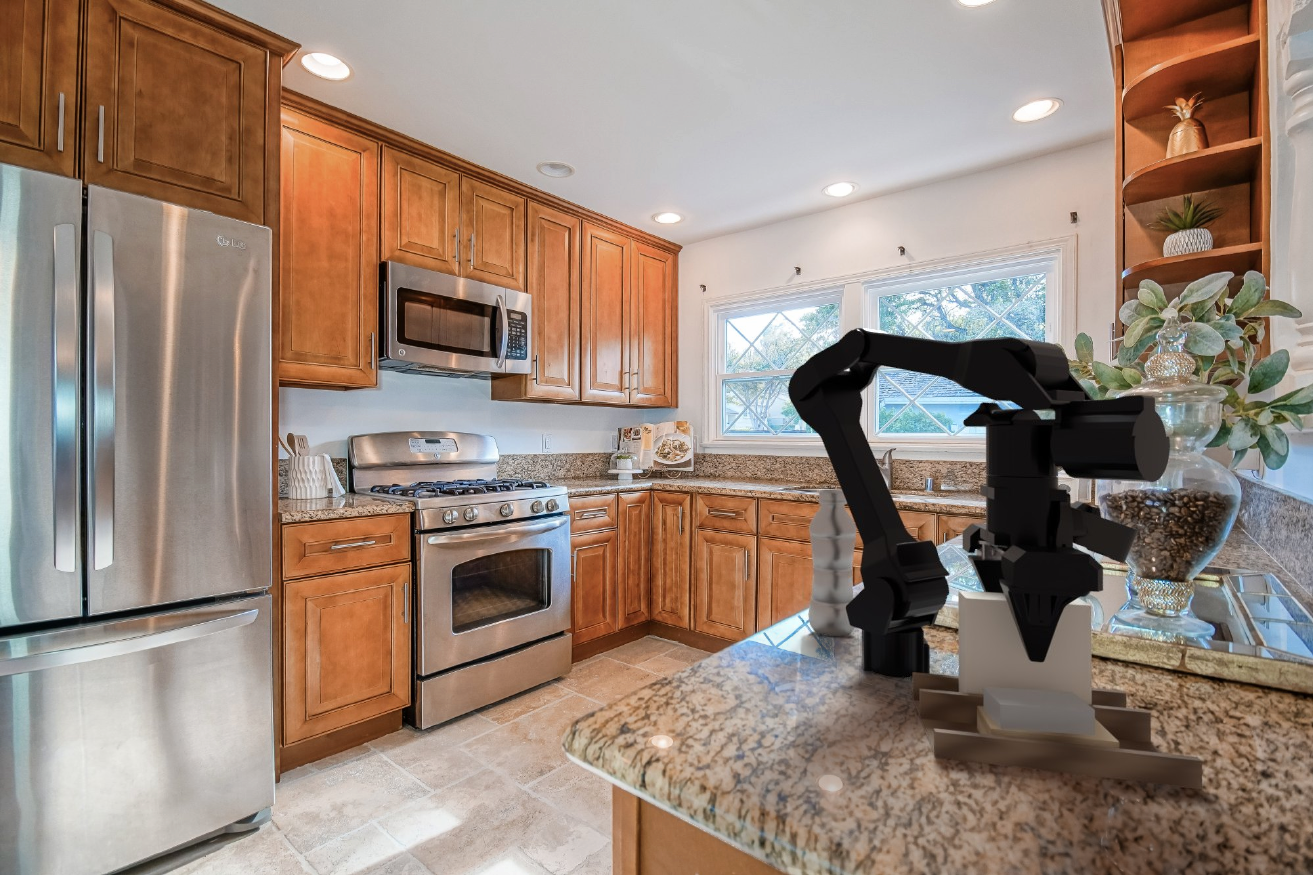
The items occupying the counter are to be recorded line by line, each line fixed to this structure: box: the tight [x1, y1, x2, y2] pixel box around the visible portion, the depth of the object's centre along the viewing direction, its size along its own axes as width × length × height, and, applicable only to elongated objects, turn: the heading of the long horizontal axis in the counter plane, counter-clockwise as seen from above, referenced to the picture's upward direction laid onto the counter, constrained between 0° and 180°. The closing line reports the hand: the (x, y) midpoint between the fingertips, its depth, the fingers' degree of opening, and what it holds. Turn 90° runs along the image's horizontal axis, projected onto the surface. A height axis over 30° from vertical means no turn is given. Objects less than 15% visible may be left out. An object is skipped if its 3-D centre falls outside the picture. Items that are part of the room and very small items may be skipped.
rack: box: [909, 672, 1203, 790], centre depth 54 cm, size 18×14×4 cm
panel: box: [957, 590, 1093, 705], centre depth 56 cm, size 10×3×11 cm, turn 76°
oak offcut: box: [977, 706, 1119, 748], centre depth 51 cm, size 9×4×2 cm, turn 76°
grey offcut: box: [984, 687, 1095, 735], centre depth 51 cm, size 7×4×2 cm, turn 82°
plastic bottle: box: [807, 489, 858, 637], centre depth 86 cm, size 6×7×20 cm
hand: (1021, 646), depth 56 cm, fingers open, 8 cm apart
